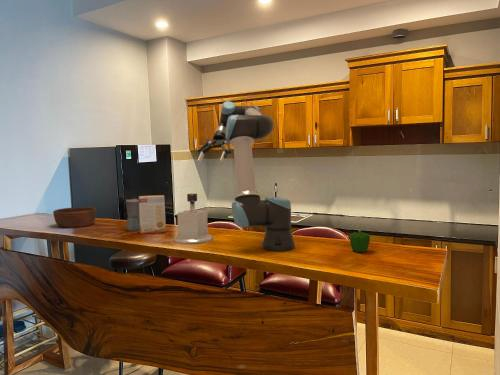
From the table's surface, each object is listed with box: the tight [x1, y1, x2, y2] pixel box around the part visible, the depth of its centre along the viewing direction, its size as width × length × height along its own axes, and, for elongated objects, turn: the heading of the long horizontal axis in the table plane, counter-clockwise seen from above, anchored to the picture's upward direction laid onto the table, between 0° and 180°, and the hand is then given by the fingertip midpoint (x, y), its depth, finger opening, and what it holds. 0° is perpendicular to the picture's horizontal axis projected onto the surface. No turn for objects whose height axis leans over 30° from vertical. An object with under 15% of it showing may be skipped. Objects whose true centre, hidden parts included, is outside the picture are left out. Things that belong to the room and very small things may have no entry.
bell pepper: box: [349, 229, 371, 253], centre depth 160 cm, size 8×8×10 cm
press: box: [172, 209, 214, 245], centre depth 188 cm, size 20×20×14 cm
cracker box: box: [138, 194, 167, 235], centre depth 208 cm, size 14×6×21 cm, turn 105°
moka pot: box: [120, 195, 140, 232], centre depth 217 cm, size 10×15×20 cm, turn 78°
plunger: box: [186, 193, 198, 212], centre depth 188 cm, size 8×8×22 cm
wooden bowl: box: [52, 206, 97, 229], centre depth 235 cm, size 25×25×10 cm
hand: (210, 161), depth 201 cm, fingers open, 13 cm apart
